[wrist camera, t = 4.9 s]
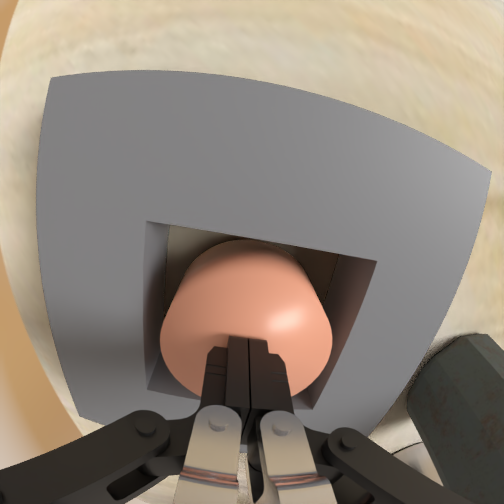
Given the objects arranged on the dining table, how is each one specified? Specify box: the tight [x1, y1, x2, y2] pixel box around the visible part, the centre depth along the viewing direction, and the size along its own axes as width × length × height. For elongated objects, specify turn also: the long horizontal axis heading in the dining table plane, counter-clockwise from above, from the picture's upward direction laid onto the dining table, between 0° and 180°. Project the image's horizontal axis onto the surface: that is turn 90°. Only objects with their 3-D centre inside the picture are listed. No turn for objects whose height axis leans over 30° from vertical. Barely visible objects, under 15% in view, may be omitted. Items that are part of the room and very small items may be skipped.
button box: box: [36, 70, 492, 453], centre depth 13 cm, size 20×20×4 cm
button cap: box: [160, 240, 332, 397], centre depth 13 cm, size 7×7×4 cm
